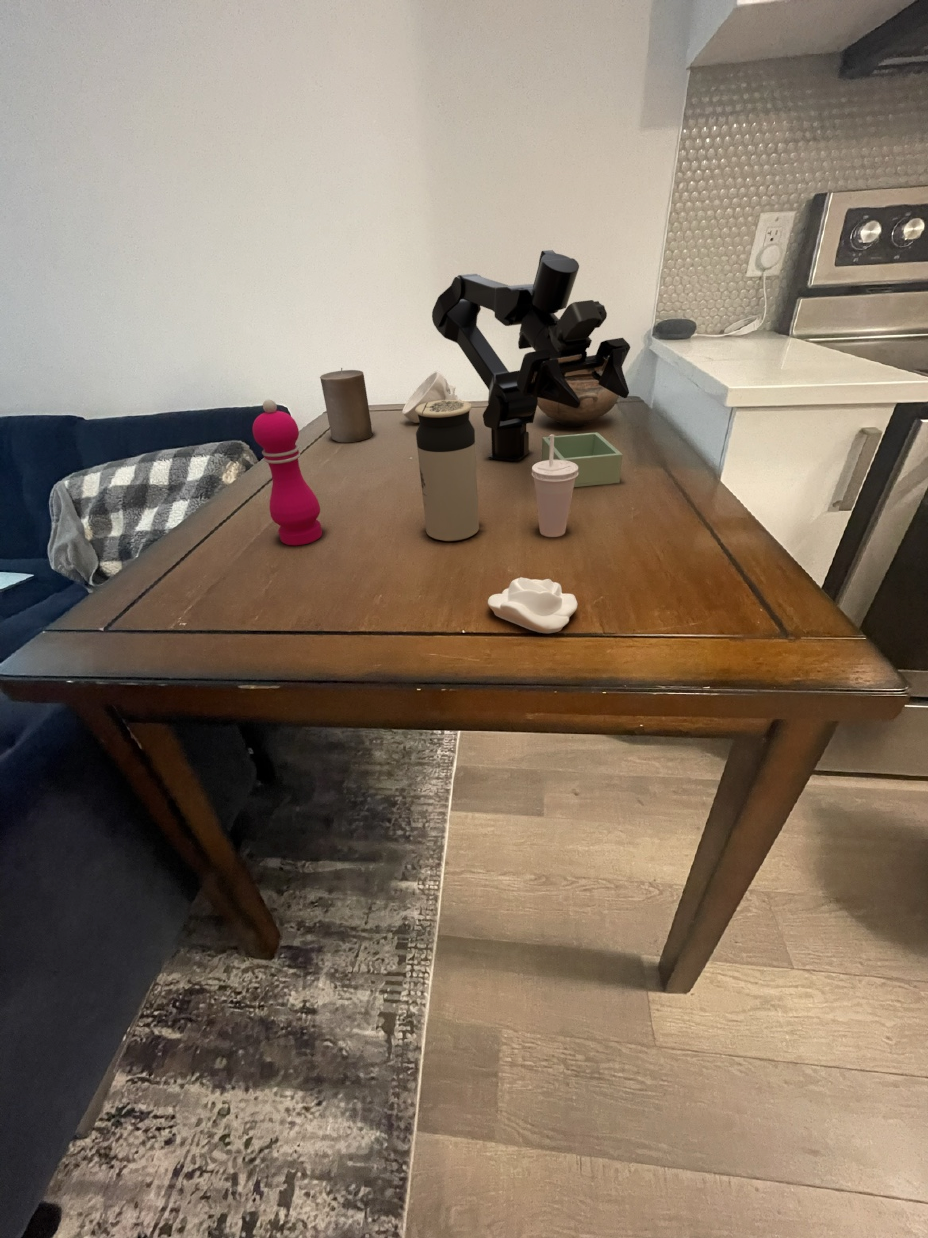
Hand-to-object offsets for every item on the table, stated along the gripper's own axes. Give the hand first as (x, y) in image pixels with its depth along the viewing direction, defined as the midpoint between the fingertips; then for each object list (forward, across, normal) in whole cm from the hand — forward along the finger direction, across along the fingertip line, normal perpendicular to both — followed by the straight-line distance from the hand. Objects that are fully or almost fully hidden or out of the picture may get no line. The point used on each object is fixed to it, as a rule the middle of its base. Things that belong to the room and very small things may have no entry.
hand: (603, 400), depth 81 cm
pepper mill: (-5, -46, +20) cm, 50 cm away
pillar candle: (-48, -21, +42) cm, 67 cm away
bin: (-3, +5, +18) cm, 19 cm away
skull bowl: (-48, 0, +42) cm, 64 cm away
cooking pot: (-27, +25, +31) cm, 48 cm away
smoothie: (+13, -14, +11) cm, 21 cm away
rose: (+27, -28, +3) cm, 39 cm away
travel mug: (+5, -26, +14) cm, 30 cm away
